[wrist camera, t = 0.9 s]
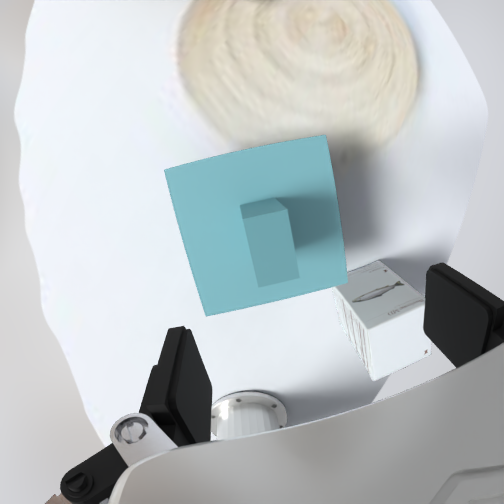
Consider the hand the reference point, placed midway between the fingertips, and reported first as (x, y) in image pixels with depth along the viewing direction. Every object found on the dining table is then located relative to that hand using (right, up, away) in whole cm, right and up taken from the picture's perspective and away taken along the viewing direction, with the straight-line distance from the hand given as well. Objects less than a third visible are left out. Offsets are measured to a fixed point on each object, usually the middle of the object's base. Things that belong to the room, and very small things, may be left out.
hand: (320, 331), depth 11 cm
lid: (-2, +6, +18) cm, 19 cm away
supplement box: (+11, -2, +28) cm, 30 cm away
